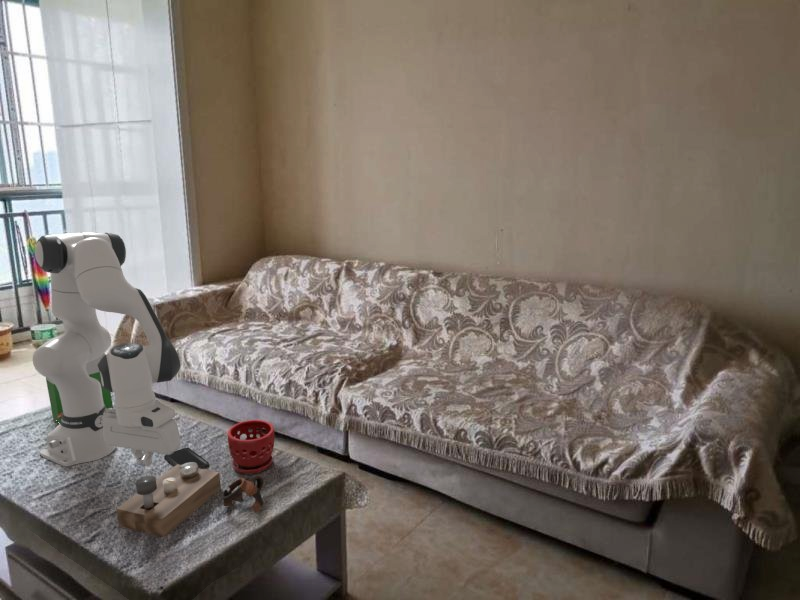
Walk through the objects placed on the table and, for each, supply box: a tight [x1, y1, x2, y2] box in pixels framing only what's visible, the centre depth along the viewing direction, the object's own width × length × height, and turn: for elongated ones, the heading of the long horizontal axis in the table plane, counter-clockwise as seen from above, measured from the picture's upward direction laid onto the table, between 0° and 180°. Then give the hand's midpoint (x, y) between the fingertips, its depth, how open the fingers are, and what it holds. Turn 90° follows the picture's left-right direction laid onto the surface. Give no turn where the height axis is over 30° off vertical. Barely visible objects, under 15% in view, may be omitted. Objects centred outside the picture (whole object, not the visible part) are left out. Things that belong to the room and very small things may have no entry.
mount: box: [115, 464, 222, 538], centre depth 150 cm, size 14×22×5 cm, turn 161°
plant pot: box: [227, 419, 275, 475], centre depth 168 cm, size 13×13×12 cm
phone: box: [163, 447, 210, 469], centre depth 173 cm, size 8×1×15 cm
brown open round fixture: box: [220, 474, 264, 513], centre depth 151 cm, size 12×10×8 cm
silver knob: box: [180, 462, 199, 479], centre depth 156 cm, size 5×5×7 cm
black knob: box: [134, 475, 157, 508], centre depth 142 cm, size 5×5×7 cm
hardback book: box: [45, 352, 114, 424], centre depth 205 cm, size 18×7×24 cm, turn 137°
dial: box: [163, 478, 177, 493], centre depth 149 cm, size 3×3×3 cm
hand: (145, 464), depth 140 cm, fingers closed
